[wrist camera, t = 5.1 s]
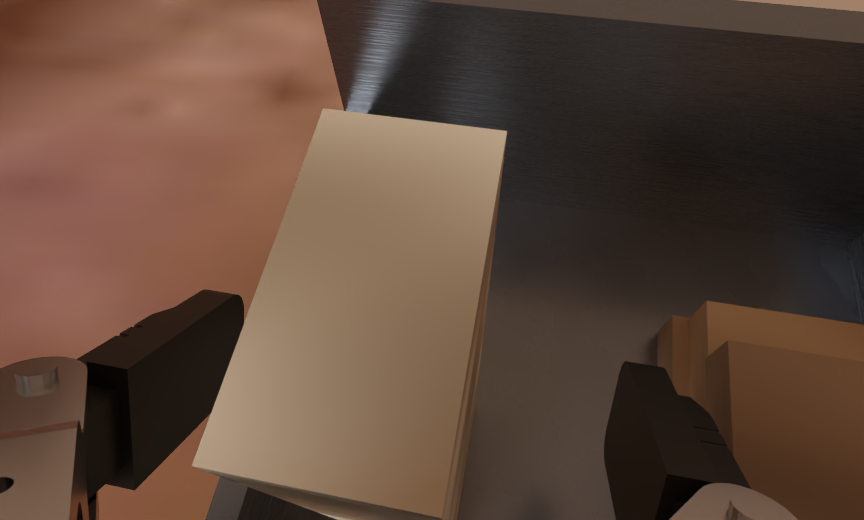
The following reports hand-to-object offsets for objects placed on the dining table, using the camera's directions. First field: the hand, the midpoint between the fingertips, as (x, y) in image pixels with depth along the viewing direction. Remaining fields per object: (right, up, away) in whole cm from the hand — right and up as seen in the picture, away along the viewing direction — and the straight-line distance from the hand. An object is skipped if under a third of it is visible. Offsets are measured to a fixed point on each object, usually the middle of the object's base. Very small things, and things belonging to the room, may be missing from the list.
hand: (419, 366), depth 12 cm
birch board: (0, -5, +7) cm, 8 cm away
